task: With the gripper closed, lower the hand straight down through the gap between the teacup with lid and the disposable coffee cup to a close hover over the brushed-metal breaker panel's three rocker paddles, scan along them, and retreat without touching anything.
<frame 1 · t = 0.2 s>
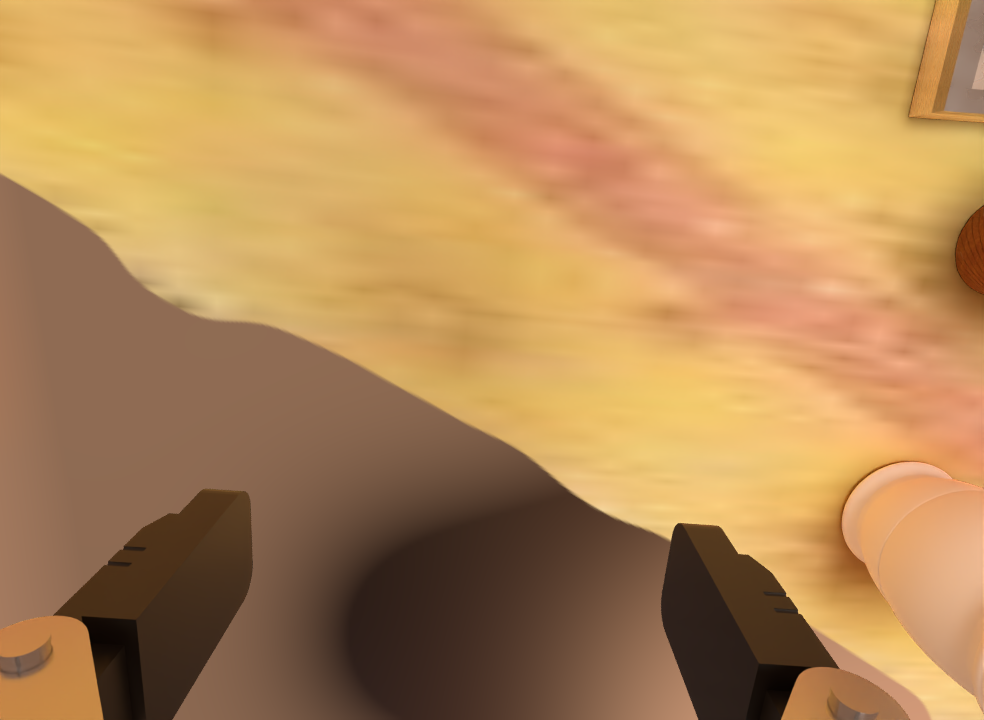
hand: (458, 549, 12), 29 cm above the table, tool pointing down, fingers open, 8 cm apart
jar: (896, 512, 44), on the table
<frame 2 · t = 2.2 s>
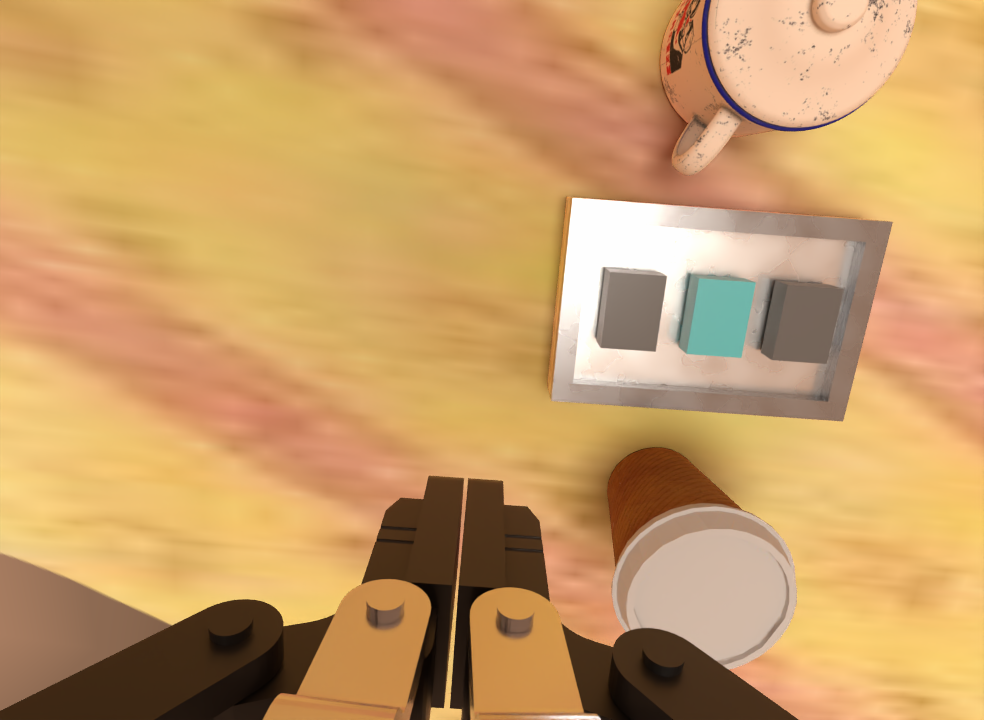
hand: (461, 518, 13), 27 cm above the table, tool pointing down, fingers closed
teacup with lid: (717, 81, 35), on the table
breaker panel: (698, 305, 39), on the table
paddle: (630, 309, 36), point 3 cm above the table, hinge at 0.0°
disposable coffee cup: (651, 487, 43), on the table
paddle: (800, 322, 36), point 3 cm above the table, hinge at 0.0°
paddle mid: (715, 315, 36), point 3 cm above the table, hinge at 0.0°
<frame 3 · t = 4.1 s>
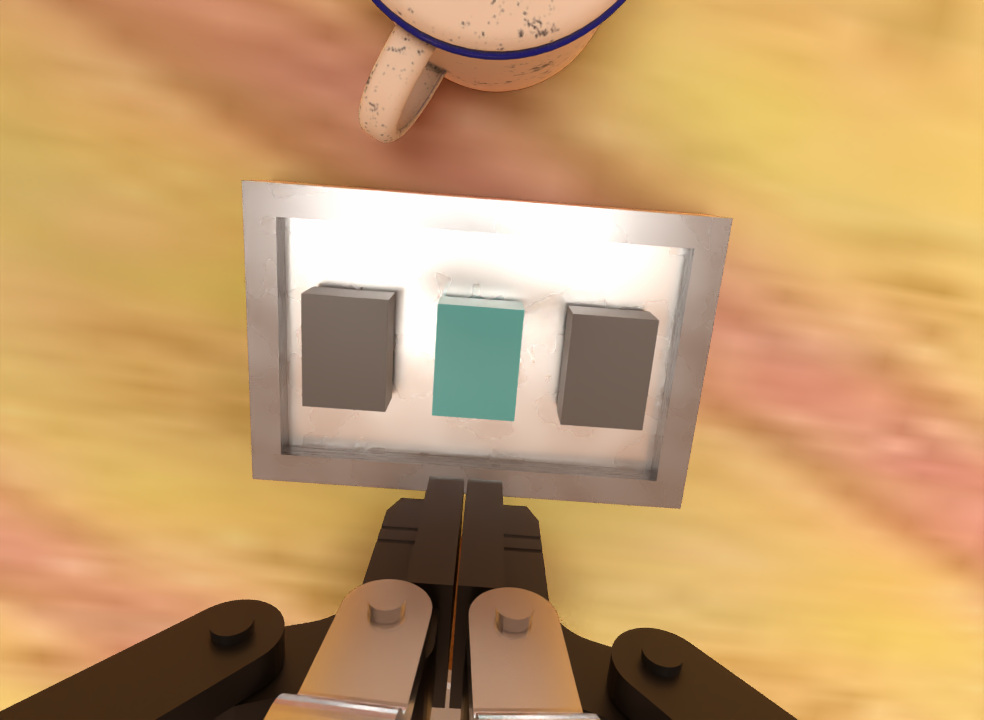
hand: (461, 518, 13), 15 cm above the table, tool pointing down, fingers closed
teacup with lid: (477, 7, 24), on the table
breaker panel: (479, 338, 27), on the table
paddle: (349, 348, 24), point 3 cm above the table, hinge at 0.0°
disposable coffee cup: (441, 586, 31), on the table
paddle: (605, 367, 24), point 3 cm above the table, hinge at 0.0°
paddle mid: (477, 358, 24), point 3 cm above the table, hinge at 0.0°
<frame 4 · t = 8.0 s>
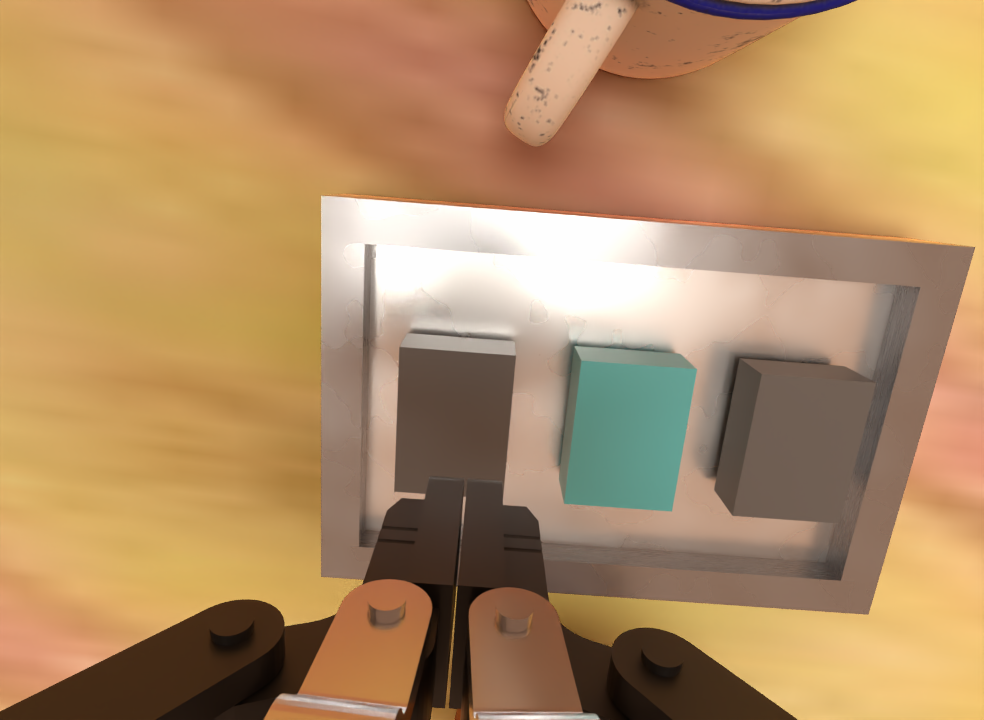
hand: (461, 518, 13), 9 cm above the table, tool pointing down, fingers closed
breaker panel: (604, 392, 21), on the table
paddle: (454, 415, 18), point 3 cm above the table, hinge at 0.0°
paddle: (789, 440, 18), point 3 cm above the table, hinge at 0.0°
paddle mid: (622, 428, 18), point 3 cm above the table, hinge at 0.0°
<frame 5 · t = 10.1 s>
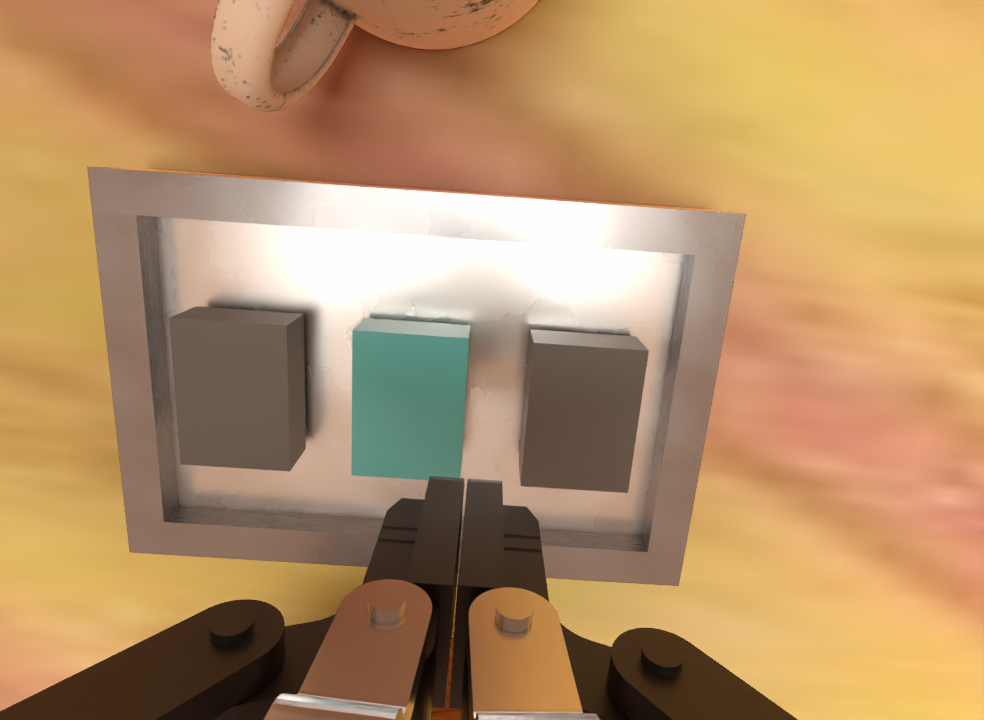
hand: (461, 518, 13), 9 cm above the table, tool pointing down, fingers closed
breaker panel: (423, 367, 21), on the table
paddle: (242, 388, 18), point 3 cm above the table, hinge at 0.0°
disposable coffee cup: (387, 667, 25), on the table
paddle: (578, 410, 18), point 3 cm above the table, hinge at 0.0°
paddle mid: (411, 399, 18), point 3 cm above the table, hinge at 0.0°
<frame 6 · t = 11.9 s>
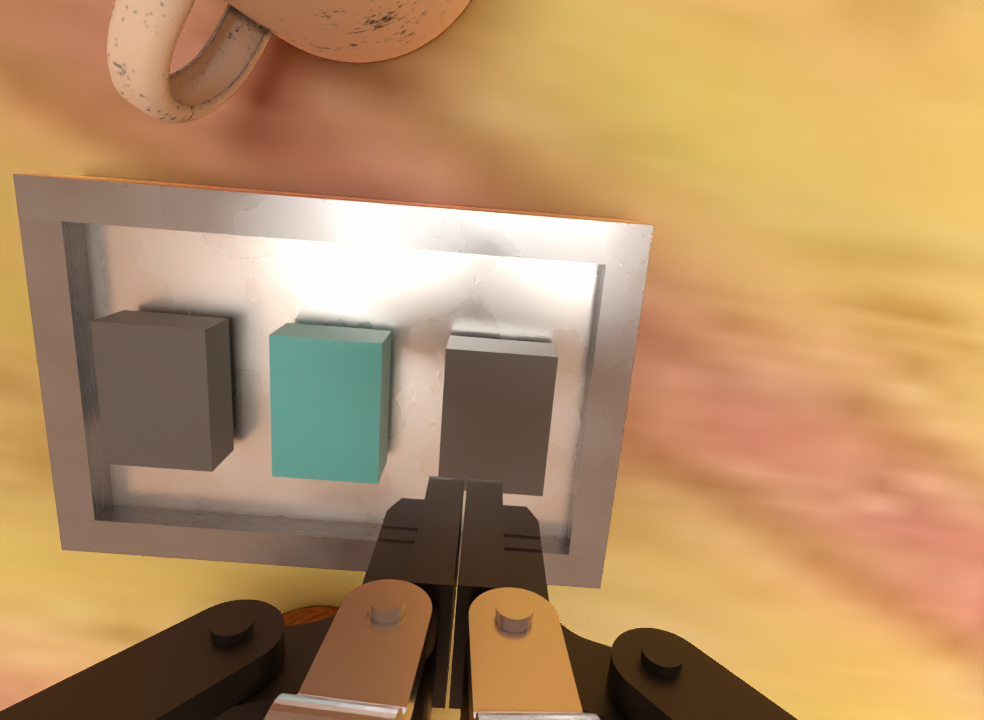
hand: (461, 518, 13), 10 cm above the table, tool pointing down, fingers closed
breaker panel: (355, 372, 22), on the table
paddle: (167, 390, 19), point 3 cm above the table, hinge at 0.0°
disposable coffee cup: (327, 666, 26), on the table
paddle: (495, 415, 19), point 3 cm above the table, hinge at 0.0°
paddle mid: (332, 402, 19), point 3 cm above the table, hinge at 0.0°
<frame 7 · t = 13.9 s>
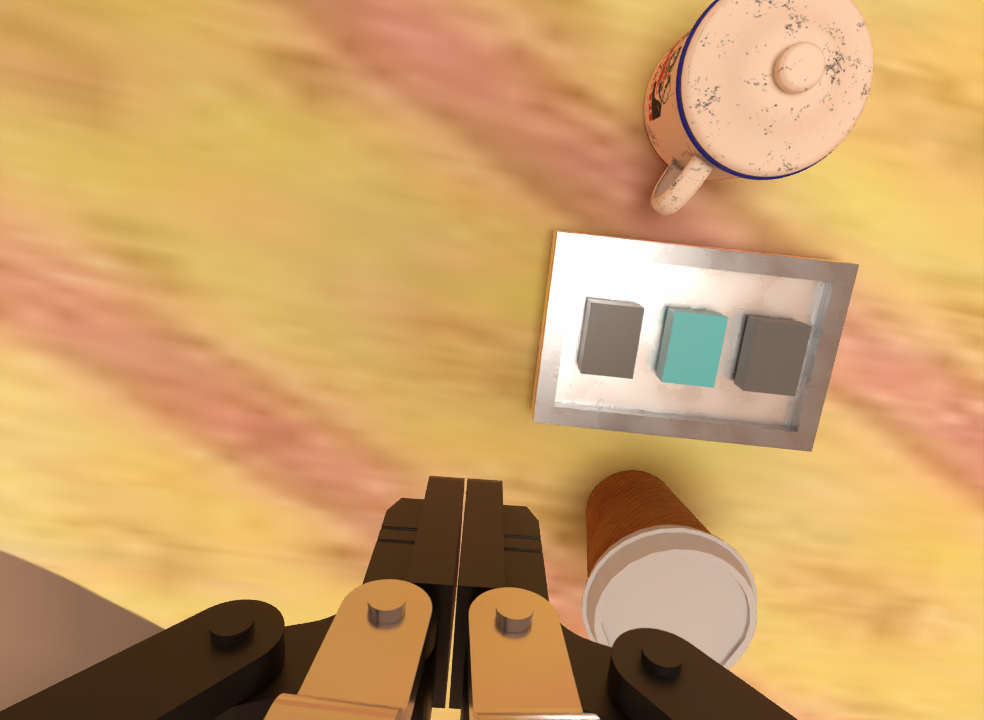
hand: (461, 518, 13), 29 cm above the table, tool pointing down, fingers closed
teacup with lid: (697, 127, 38), on the table
breaker panel: (676, 336, 41), on the table
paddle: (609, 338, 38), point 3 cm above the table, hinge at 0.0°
disposable coffee cup: (629, 509, 44), on the table
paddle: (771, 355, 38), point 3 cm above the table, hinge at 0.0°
paddle mid: (690, 347, 38), point 3 cm above the table, hinge at 0.0°
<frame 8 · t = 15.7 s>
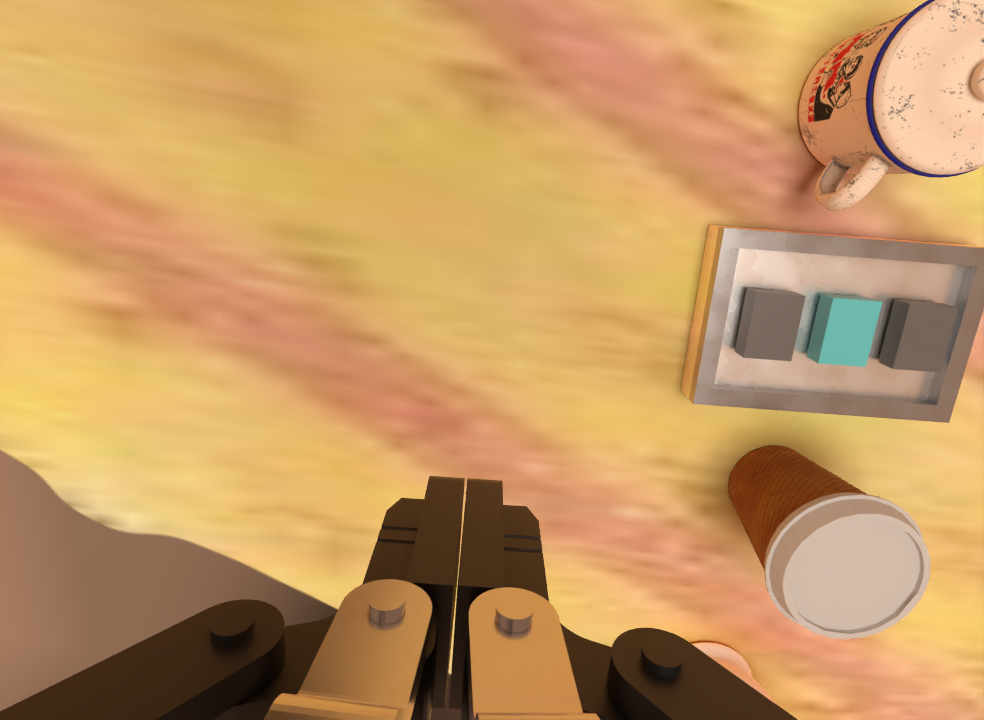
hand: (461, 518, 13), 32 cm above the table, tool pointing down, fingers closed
teacup with lid: (846, 125, 41), on the table
breaker panel: (818, 319, 44), on the table
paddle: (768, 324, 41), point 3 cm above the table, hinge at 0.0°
disposable coffee cup: (767, 481, 48), on the table
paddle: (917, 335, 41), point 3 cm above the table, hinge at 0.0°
paddle mid: (843, 330, 41), point 3 cm above the table, hinge at 0.0°
jar: (700, 678, 53), on the table
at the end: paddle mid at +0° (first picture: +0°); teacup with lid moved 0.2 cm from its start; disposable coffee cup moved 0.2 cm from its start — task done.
